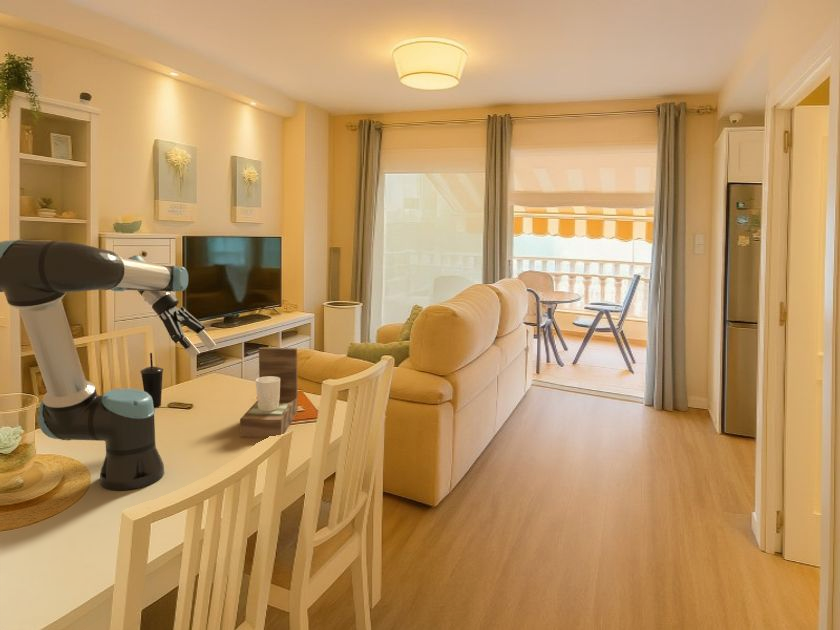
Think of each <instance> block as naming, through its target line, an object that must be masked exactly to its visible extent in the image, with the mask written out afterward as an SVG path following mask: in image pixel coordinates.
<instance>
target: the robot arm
mask: <svg viewBox="0 0 840 630" xmlns="http://www.w3.org/2000/svg"><path fill="white" fill-rule="evenodd" d="M188 285H189V272H188V270H187V269H186V268H185V267H184V266H179V265H177V266H176V265H164V264H158V263H154V262H148V261H146V260H145V259H144V258H143V257H142V256H140V255H138V254H137V255H133V256H130V257H128V258H126V257H121V256H120V255H119V254H117V253H116V252H114V251H111V250H107V249H103V248H100V247H95V246H91V245H88V244H84V243H83V244H82V243H78V242H73V241H67V240H58V241H57V240H28V239H27V240H26V239H15V240H14V239H13V240H3V241H0V293H4V296H5V298H6V301H7V304H8V305H9V306H10V307H13V308H15V309H18V311H19V314H20V316H21V319H22V322H23V325H24V329H25V332H26V334H27V337H28V340H29V342H30V346H31V348H32V351H33V353H34V357H35V360H36V363H37V366H38V369H39V371H40V375H41V377H42V380H43V383H44V386H45V389H46V392H45V394H44V395H43V397H42V401H41V402H40V404H39V406H38V409H37V412H38V413H39V414H38V415H37V417H36V418H37V424H38V426H39V429H40V430H41V432H42V433H43V434H44V435H45V436H46V437H48V438H50V439H54V440H61V441H72V440H73V441H95V442H96V441H98V442H99V441H101V442H105V457H104V459H103V464H102V466H101V469H100V474H99V484H100V485H101V487H102V488H103V489H106V490H110V491H127V490H136V489H140V488H143V487H147V486H149V485H152V484H154V483H155V482H158V481H159V480H161V479H162V477H164V475H165V465H164V462H163V460H162V457H161V456H160V453H159V451H158V449H157V444H156V426H155V424H156V423H155V411H156V410H155V408H154V406H153V400H152V397H151V396H150V395H149V394H148V393H147V392H145V391H144V390H142V389H136V388H130V387H129V388H128V387H127V388H115V389H110V390H108V391H105V392H104V393H103V394H101V395H100V394H98V392H97V390H96V389H97V388H96V386H95V384H94V383H93V382H91V381H88V380H87V379H86V376H85V373H84V370H83V366H82V363H81V360H80V356H79V354H78V350H77V347H76V343H75V340H74V337H73V334H72V330H71V328H70V324H69V321H68V318H67V315H66V311H65V308H64V305H63V301H62V300H63V298H64V297H65V296H66V294H67V293H78V292H79V293H80V292H87V291H89V292H90V291H99V290H100V291H109V290H111V291H114V292H124V291H136V292H138V293H139V294H140V295H141V296H142V298H143V301H144V302H147V303H148V305H149V306H151V309H152V310H153V311H154V312H155V314H156V315H158V317H159V319H160V321H162V323H163V325H164V327H165V329H166V331H167V333H168V335H169V337H170V339H171V340H172V341H173V342H174V343H175V344H177V343H179V344H180V345H181V347H183V349H184V350H185V351H186V353H188V355H189V356H190V357H191V358H192V359H194V358H195V357H197V356H198V355H199V354H201V352H200V350H199V349H198V348H197V347H196V345H194V343H193V342H192V341H191V340H190V338H189V337H188V336H187V335H186V336H185V334H184V332H183V331H184V330H183V329H182V325H183V326H185V327H187V328H189V329H190V330H191V331H193V332H194V333H196V336H197V337H198V338H199V340H200V341H201V342H202V344H203V345H204V346H205V347H206V348H207V349H208V350H209V351H211V349H213V348H215V346H217V343H215V341H214V340H213V338H211V337H210V335H209V333H207V332H206V331H205V329H206V328H207V327H206V326H205V325H204V324H203V323H202V322H201V321H199V320H198V319H197V318H196V317H194V315H192V314H191V313H190V312H189V311H188V310H187V309H186V308H185V307H184V306H181V307H180V308H179V307H178V306H177V305H178V304H179V301H180V300H178V298H177V297H176V296H175V295H174V294H173V293H175V292H183V291H185V290H186V289H187V288H188ZM171 292H173V293H171Z"/></svg>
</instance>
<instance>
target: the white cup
mask: <svg viewBox="0 0 840 630" xmlns="http://www.w3.org/2000/svg"><path fill="white" fill-rule="evenodd" d="M255 387H256V390H255V391H256V399H257V400H256V402H257V401H258V409H259V410H261V411H273V410H277V409H278V408H279V400H280V378H279V377H275V376H265V377H260V378H259V377H258V378H255Z"/></svg>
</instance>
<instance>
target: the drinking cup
mask: <svg viewBox="0 0 840 630" xmlns="http://www.w3.org/2000/svg"><path fill="white" fill-rule="evenodd" d="M149 359H150V360H149V362H150V366H147V367H145V368H143V369H141V370H140V372H139V373H140V374H141V380H142V386H143V391H145V392H147V393H148V394H149V395H150V396H151V397H152V400H153V406H154V409H157V408H160V407H161V406H162V393H163V391H162V390H163V372H164V368H162V367H159V366H153V365H154V364H153V352H150V353H149ZM159 406H160V407H159ZM156 407H157V408H156Z"/></svg>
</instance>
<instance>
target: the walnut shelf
mask: <svg viewBox="0 0 840 630" xmlns="http://www.w3.org/2000/svg"><path fill="white" fill-rule="evenodd" d="M258 367H259V369H258V376H259V377H258V378H260V377H265V376H275V377H279V378H280V400H279V408H278V409H277V410H273V411H261V410H259V409H258V401H257V400H256V402H254V404H253V405H252V406H251V407H250V408H249V409H248V410H247V411H246V412H245V413H244V414H243V415H242V416H241V418H240V419H239V426H240V427H239V428H240V429H239V431H240V438H261V439H262V438H265V439H266V437H269V436H276V435H281V434H285V433H286V432H287V430H288V429H289V427H290V425H291V424H292V422H293V421H294V419H293V417H294V415H295V414H296V412H297V410H299V408H298V401H299V399H298V398H299V397H298V348H297V347H293V348H292V347H291V348H290V347H259V348H258ZM292 420H293V421H292Z"/></svg>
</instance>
